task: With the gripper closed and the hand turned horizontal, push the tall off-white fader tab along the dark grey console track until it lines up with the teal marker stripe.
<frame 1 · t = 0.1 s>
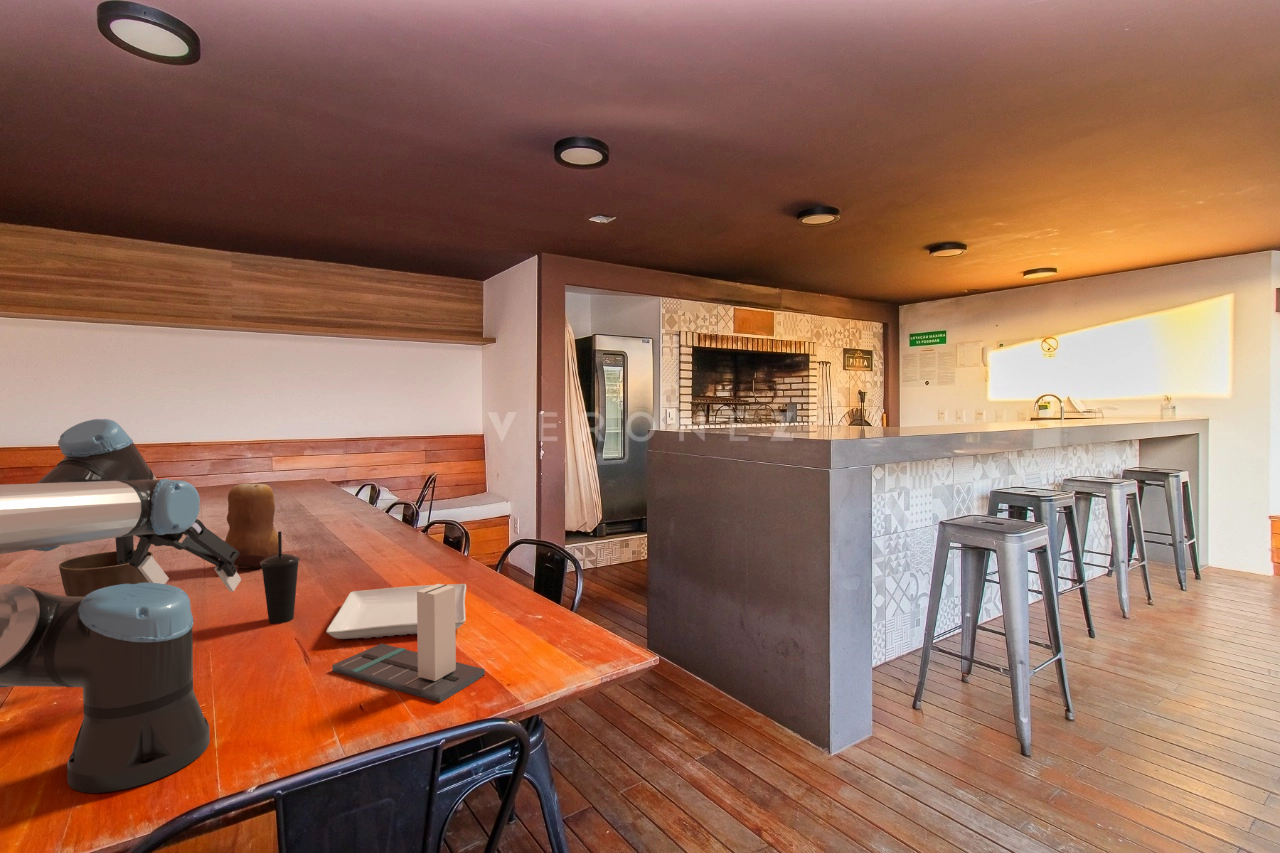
hand: (199, 585, 112), 15 cm above the table, tool tilted 35°, fingers open, 13 cm apart
butternut squash: (253, 568, 179), on the table
drinking cup: (281, 620, 137), on the table
square plate: (404, 620, 139), on the table
console: (408, 673, 110), on the table
plant pot: (110, 634, 128), on the table
fader tab: (436, 630, 107), point 9 cm above the table, slide at 0.0 cm
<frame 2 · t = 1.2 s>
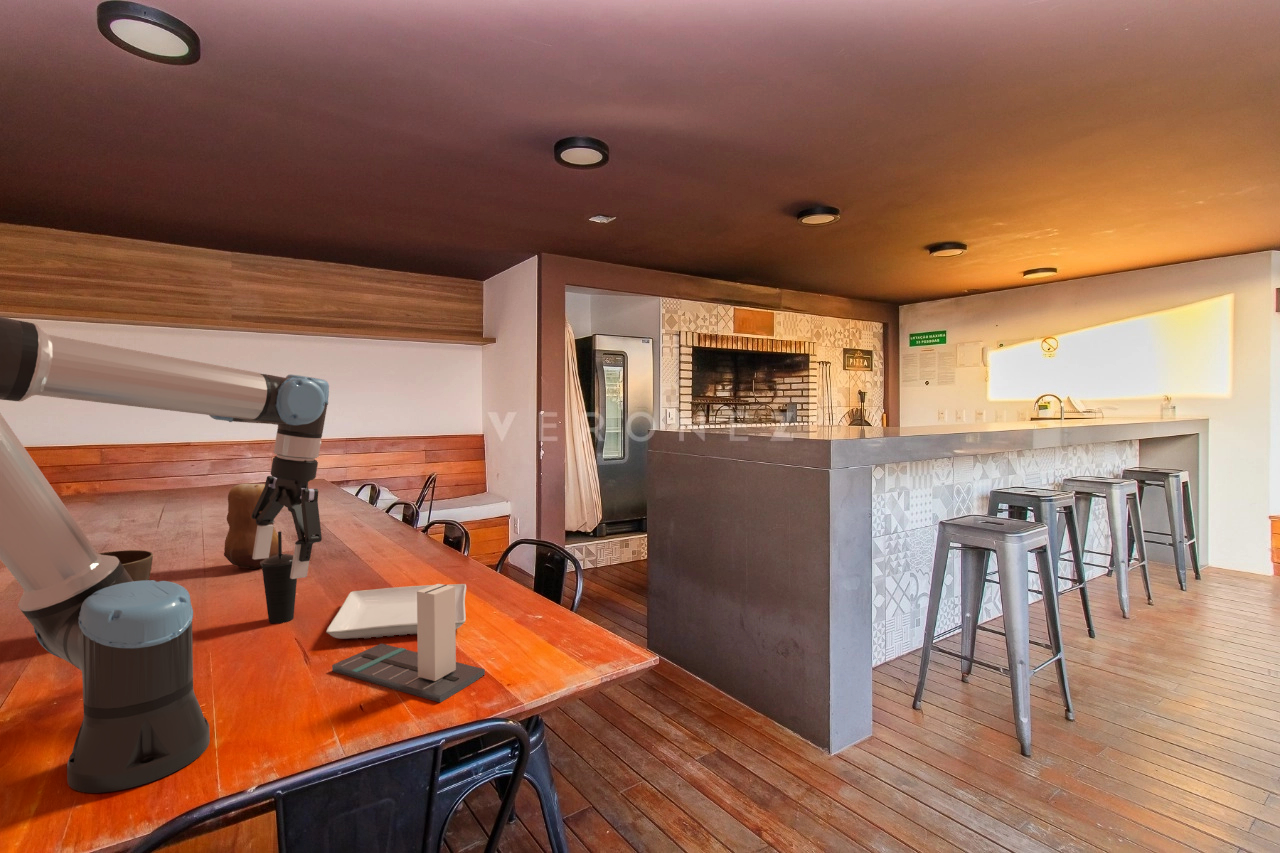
hand: (278, 567, 115), 18 cm above the table, tool pointing down, fingers open, 13 cm apart
nothing on the table moved.
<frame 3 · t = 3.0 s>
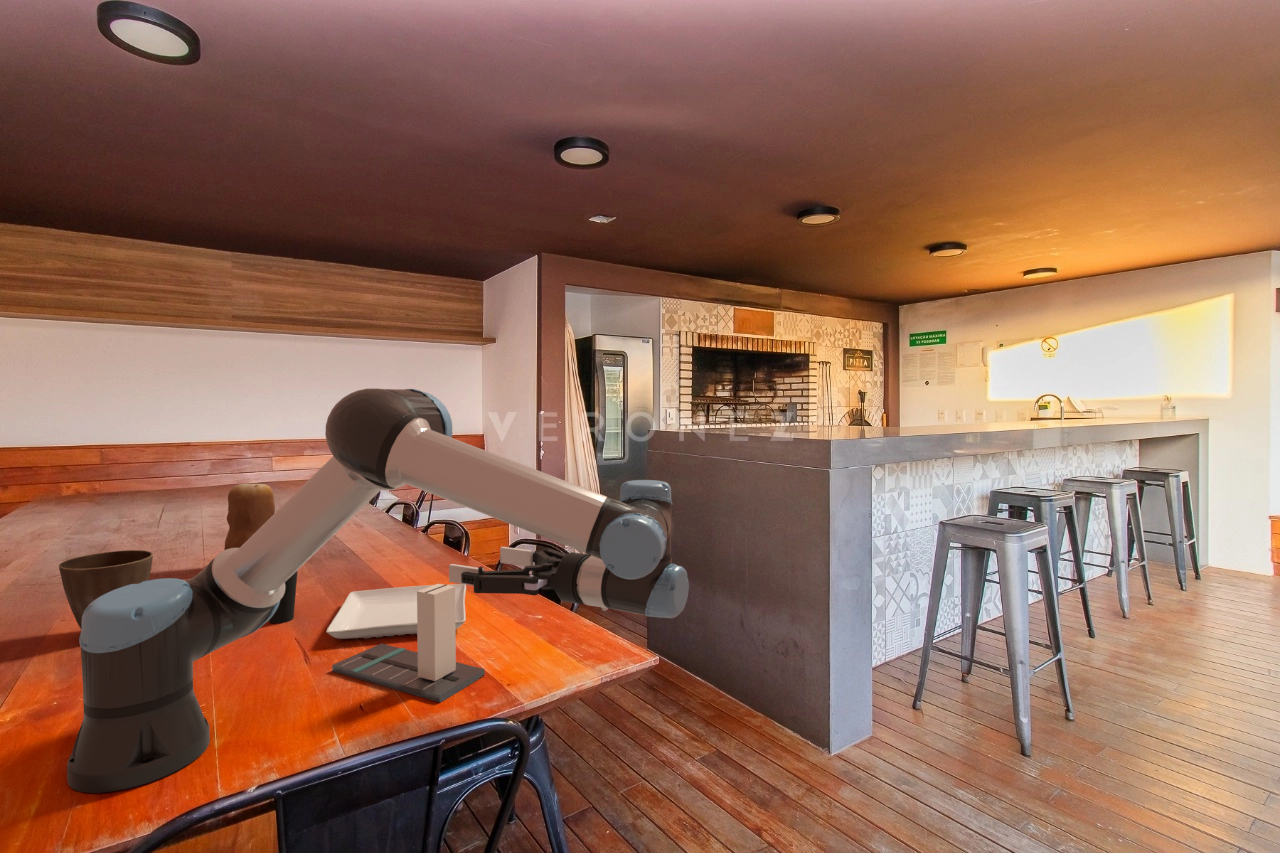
hand: (477, 563, 103), 22 cm above the table, tool horizontal, fingers open, 12 cm apart
nothing on the table moved.
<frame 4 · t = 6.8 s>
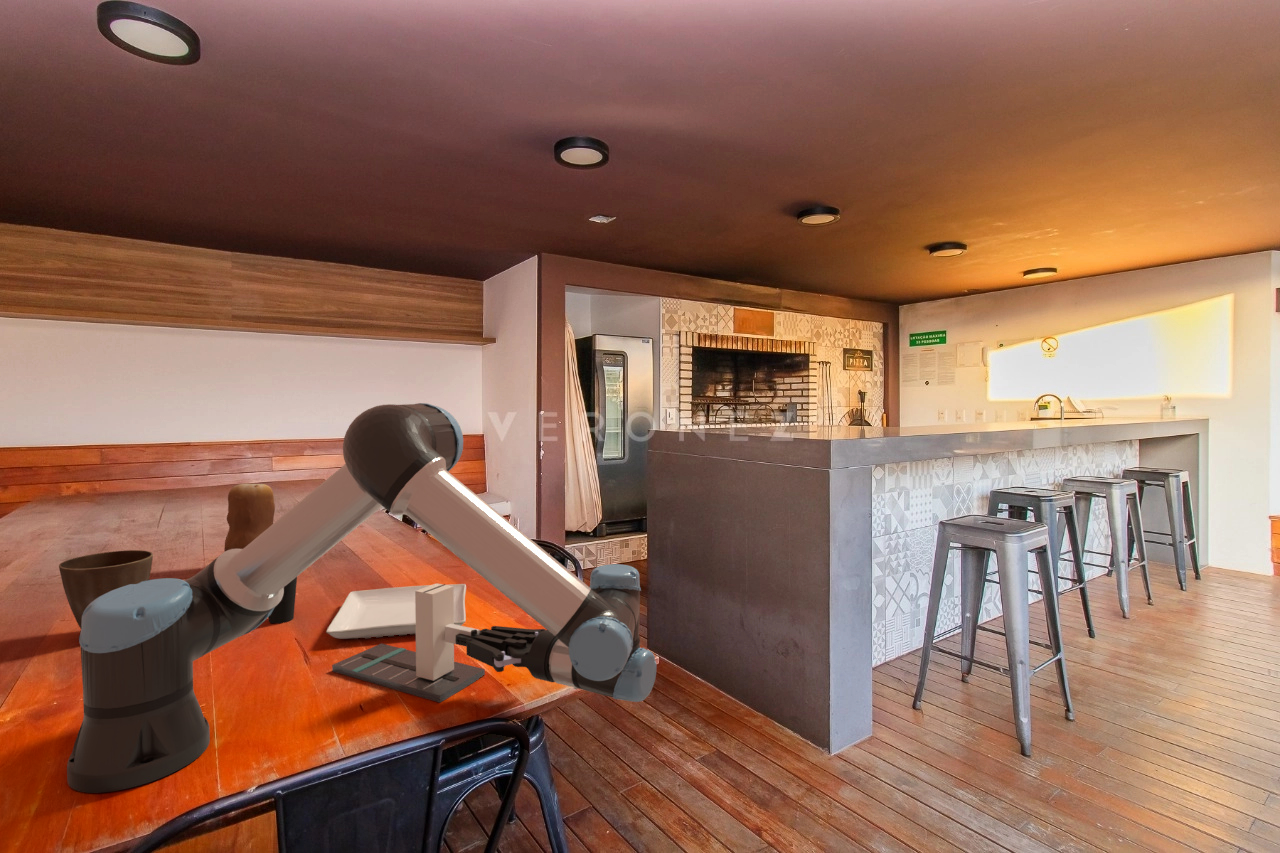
hand: (447, 632, 107), 9 cm above the table, tool horizontal, fingers closed
fader tab: (435, 630, 107), point 9 cm above the table, slide at 0.4 cm, touching gripper
everything else where it was.
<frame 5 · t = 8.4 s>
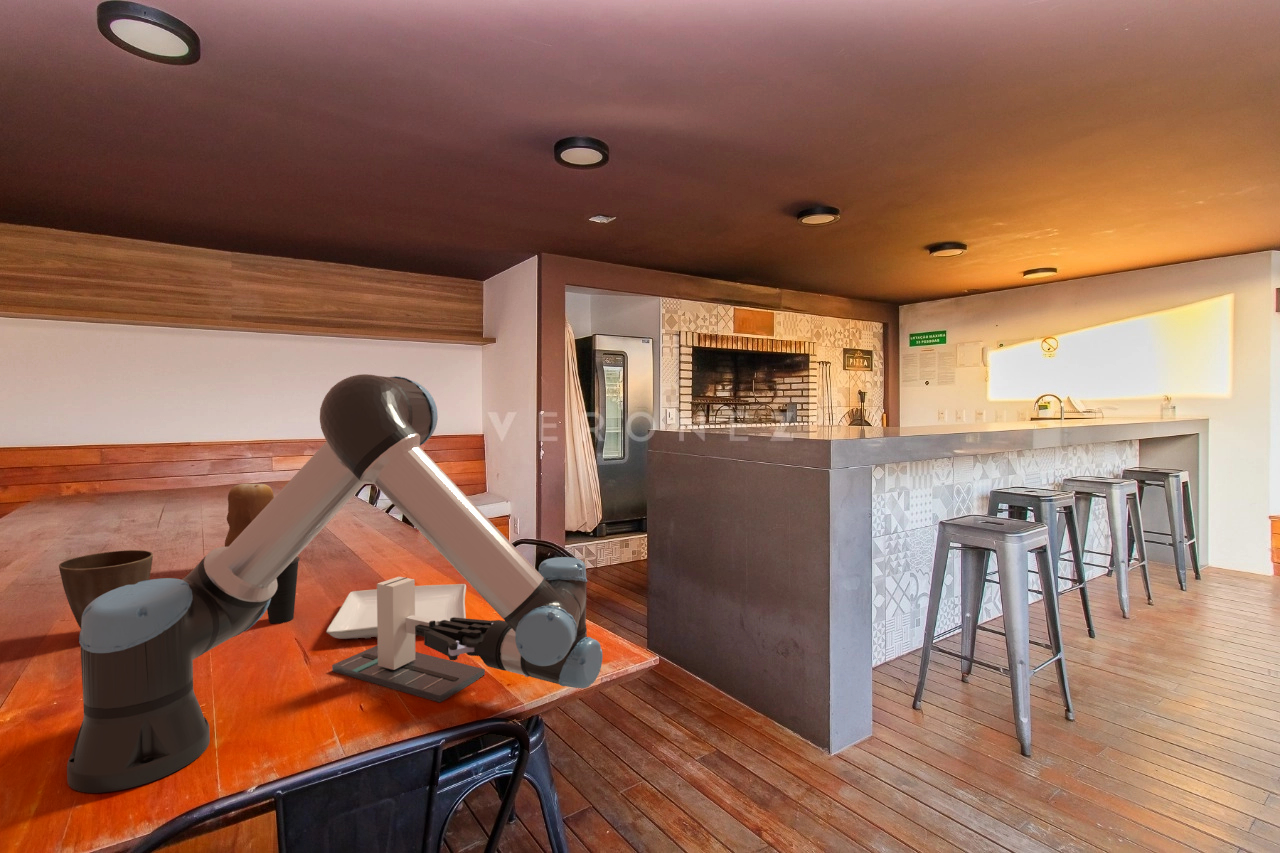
hand: (408, 623, 111), 9 cm above the table, tool horizontal, fingers closed
fader tab: (396, 621, 111), point 9 cm above the table, slide at 9.8 cm
everything else where it was.
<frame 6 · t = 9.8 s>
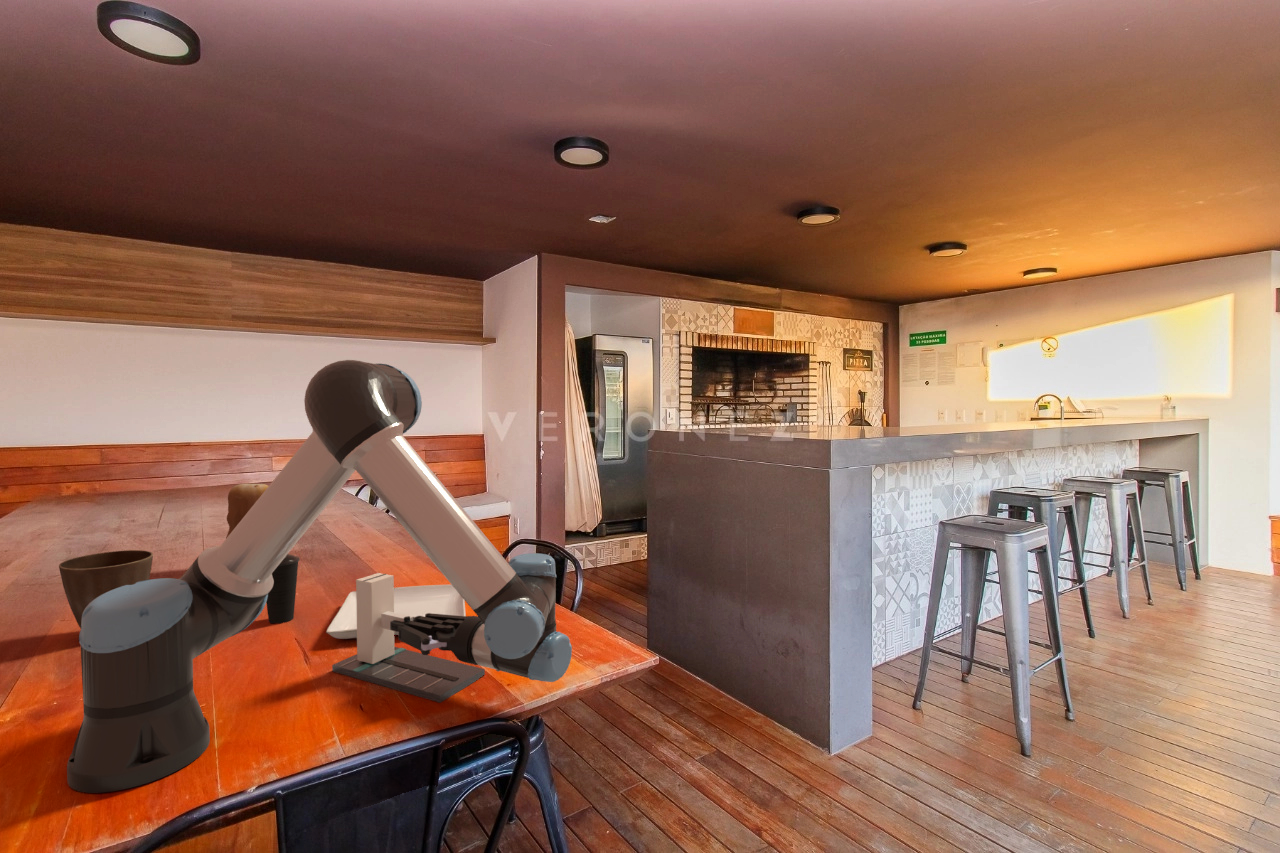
hand: (384, 619, 113), 9 cm above the table, tool horizontal, fingers closed
fader tab: (375, 617, 114), point 9 cm above the table, slide at 15.1 cm, touching gripper
everything else where it was.
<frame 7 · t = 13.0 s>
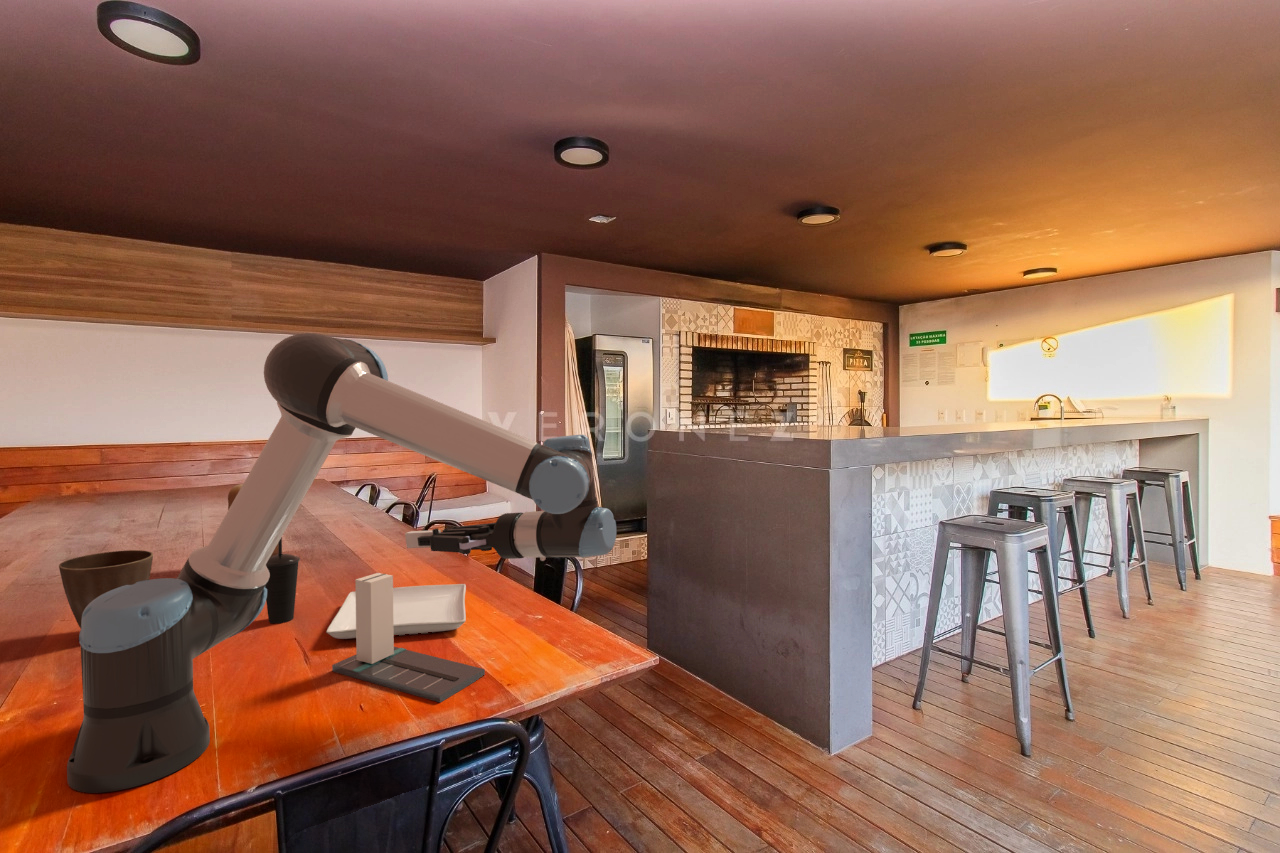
hand: (408, 539, 109), 25 cm above the table, tool horizontal, fingers closed
fader tab: (374, 617, 114), point 9 cm above the table, slide at 15.3 cm
everything else where it was.
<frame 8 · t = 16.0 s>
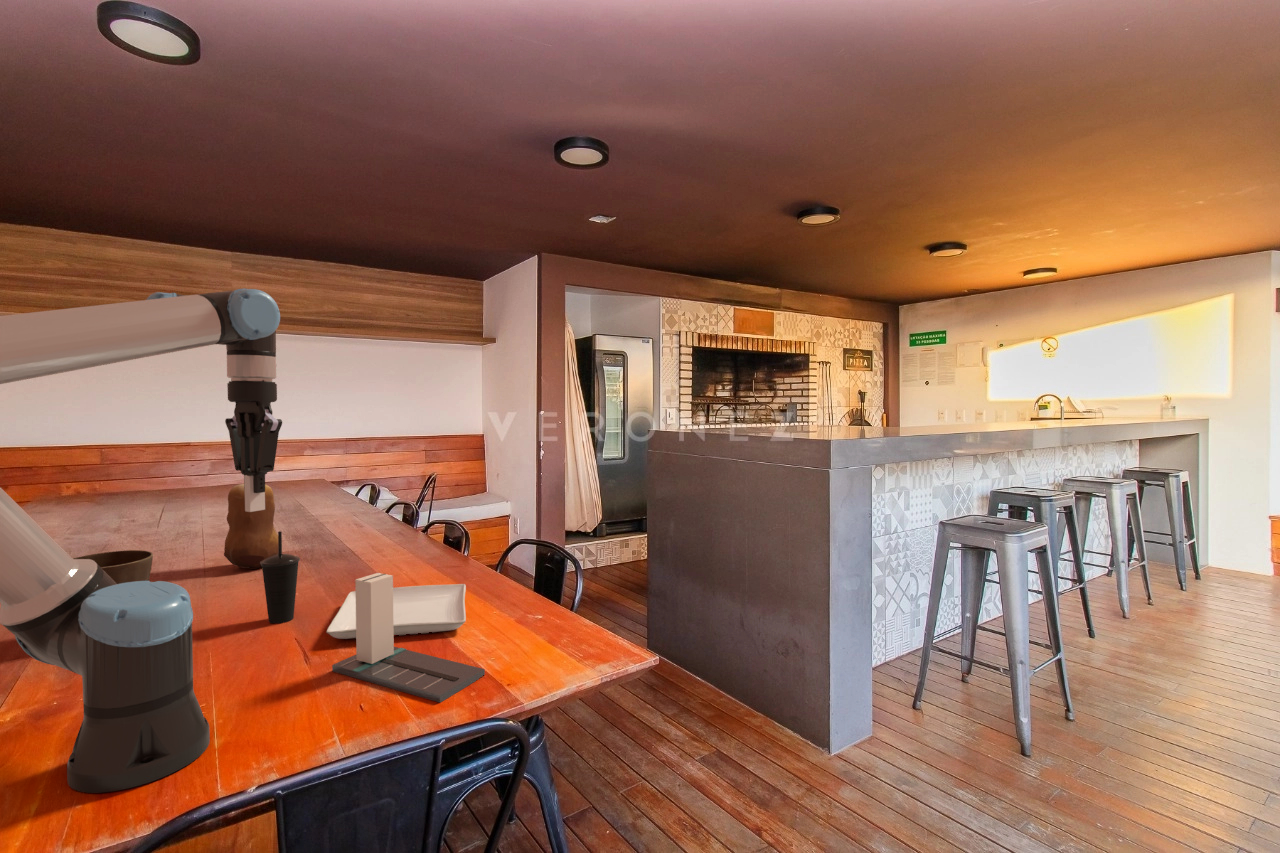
hand: (255, 510, 111), 29 cm above the table, tool pointing down, fingers closed
nothing on the table moved.
at the end: fader tab slide at 15.3 cm; the gripper is holding nothing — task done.
